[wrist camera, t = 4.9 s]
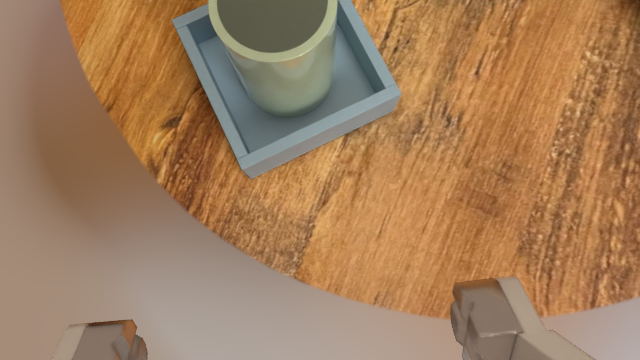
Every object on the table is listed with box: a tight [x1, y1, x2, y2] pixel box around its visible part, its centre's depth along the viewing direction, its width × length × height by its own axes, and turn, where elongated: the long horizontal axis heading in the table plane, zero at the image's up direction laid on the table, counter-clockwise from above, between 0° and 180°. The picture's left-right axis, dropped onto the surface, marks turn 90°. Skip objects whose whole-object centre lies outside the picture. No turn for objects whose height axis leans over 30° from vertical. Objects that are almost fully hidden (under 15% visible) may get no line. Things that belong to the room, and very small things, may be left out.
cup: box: [208, 0, 337, 118], centre depth 29 cm, size 7×7×10 cm
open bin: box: [172, 0, 401, 179], centre depth 33 cm, size 12×12×4 cm
